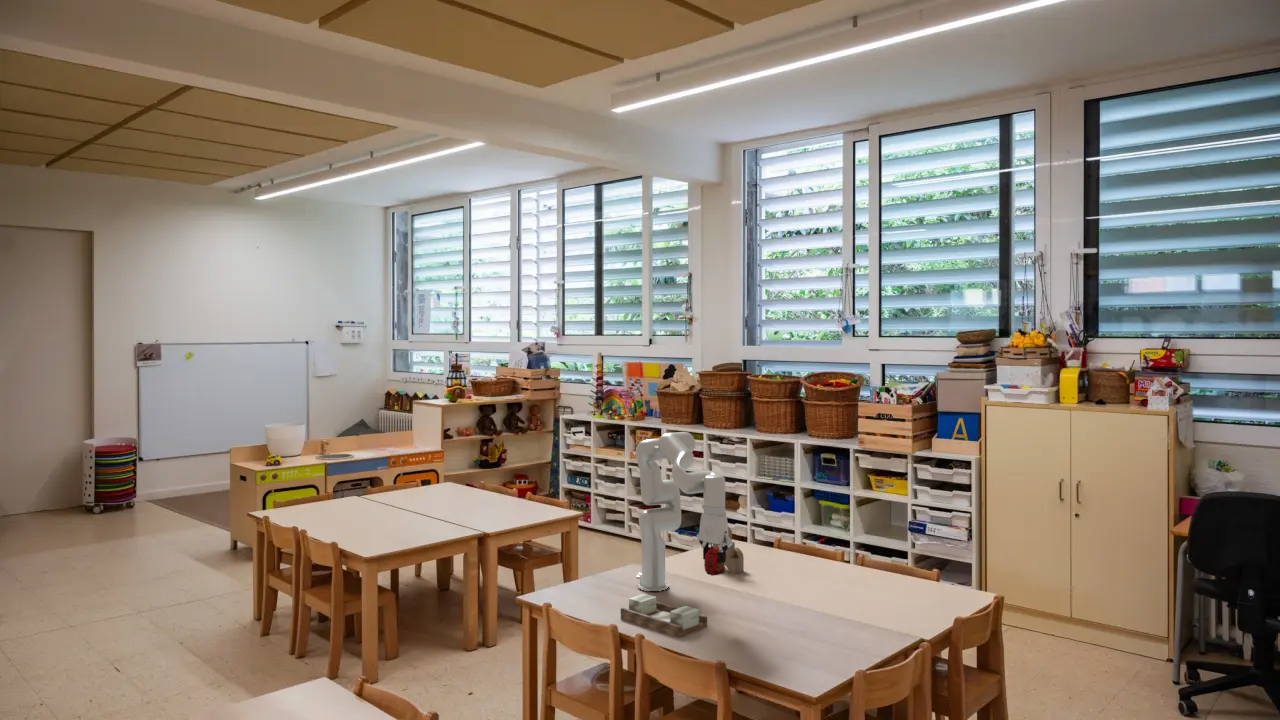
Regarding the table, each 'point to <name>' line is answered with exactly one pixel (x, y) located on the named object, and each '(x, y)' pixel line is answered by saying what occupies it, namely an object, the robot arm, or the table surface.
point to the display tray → (663, 616)
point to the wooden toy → (733, 557)
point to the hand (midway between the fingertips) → (714, 560)
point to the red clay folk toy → (713, 562)
